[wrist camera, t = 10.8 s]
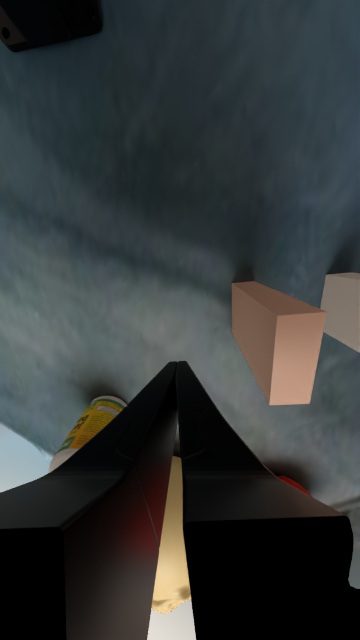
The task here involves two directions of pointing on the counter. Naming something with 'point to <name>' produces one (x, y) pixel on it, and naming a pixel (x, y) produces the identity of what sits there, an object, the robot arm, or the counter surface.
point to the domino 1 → (277, 340)
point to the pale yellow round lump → (172, 549)
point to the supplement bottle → (88, 426)
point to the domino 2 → (342, 308)
